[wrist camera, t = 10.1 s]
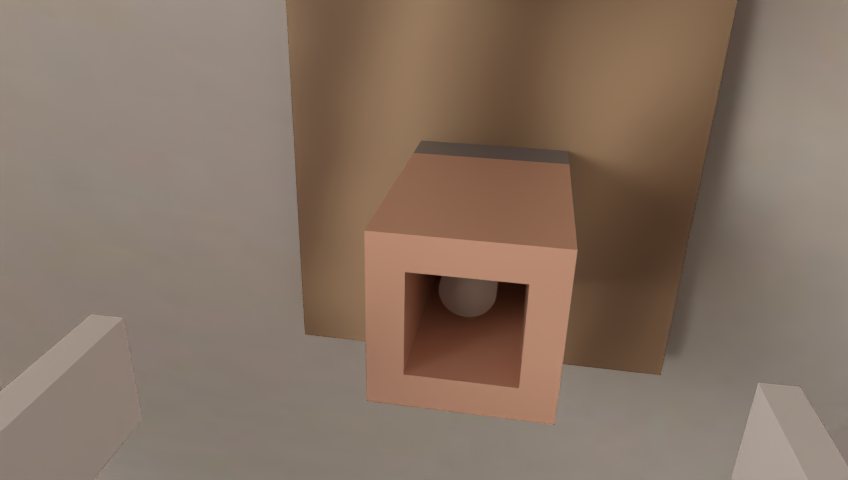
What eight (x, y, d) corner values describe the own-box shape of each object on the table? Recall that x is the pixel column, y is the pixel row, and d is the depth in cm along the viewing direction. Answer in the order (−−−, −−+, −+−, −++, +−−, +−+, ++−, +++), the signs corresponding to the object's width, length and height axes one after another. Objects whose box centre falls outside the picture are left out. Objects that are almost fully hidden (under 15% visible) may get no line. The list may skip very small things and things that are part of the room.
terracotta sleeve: (418, 269, 25) (366, 400, 18) (421, 140, 23) (364, 230, 16) (552, 282, 25) (554, 424, 17) (567, 150, 22) (577, 250, 15)
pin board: (316, 315, 29) (245, 431, 22) (285, -334, 20) (147, -478, 13) (654, 353, 27) (690, 492, 20) (793, -350, 18) (946, -530, 11)
